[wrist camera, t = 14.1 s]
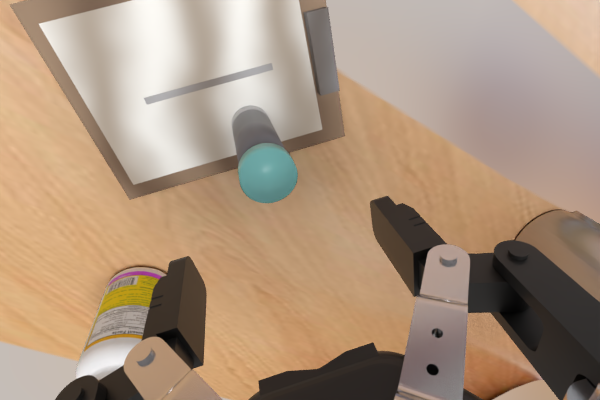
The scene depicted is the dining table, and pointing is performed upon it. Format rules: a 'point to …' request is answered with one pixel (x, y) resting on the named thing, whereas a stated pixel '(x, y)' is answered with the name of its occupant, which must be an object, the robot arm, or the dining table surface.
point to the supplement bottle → (118, 321)
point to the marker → (261, 157)
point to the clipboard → (187, 78)
